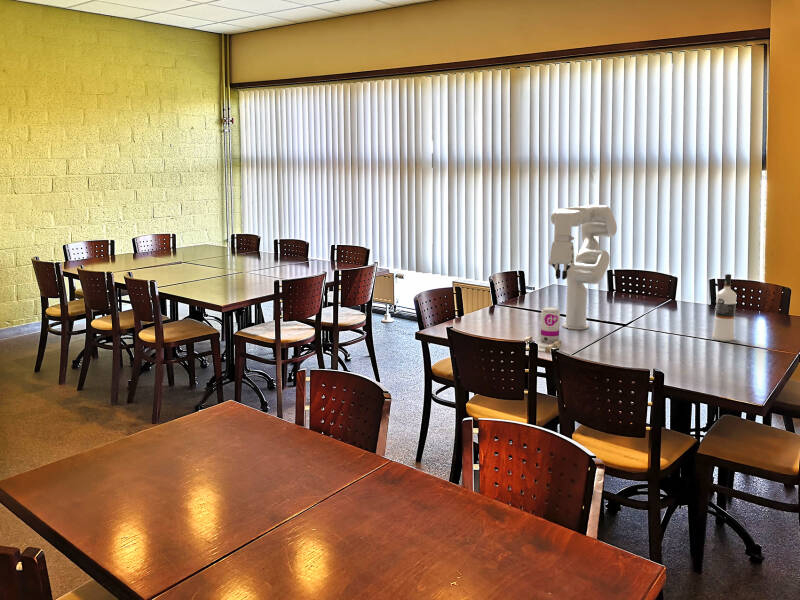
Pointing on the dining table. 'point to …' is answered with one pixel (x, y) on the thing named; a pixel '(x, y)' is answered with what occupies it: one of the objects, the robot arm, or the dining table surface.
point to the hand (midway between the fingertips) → (561, 278)
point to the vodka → (725, 312)
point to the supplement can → (550, 324)
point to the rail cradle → (544, 345)
